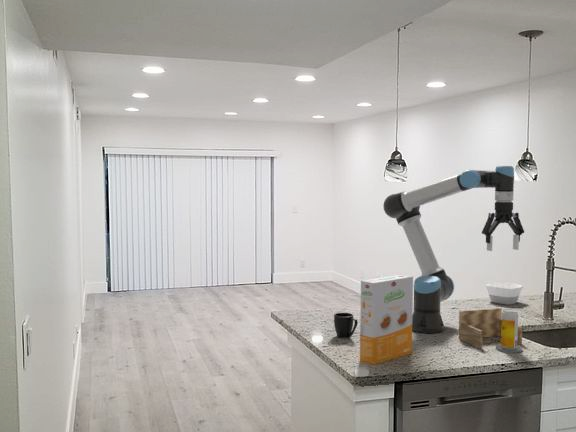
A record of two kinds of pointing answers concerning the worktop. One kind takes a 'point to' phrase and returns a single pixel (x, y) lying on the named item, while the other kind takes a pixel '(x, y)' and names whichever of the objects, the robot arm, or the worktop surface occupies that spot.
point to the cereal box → (386, 318)
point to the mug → (344, 324)
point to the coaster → (508, 350)
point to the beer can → (509, 329)
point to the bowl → (504, 292)
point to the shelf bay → (481, 325)
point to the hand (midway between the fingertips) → (502, 250)
